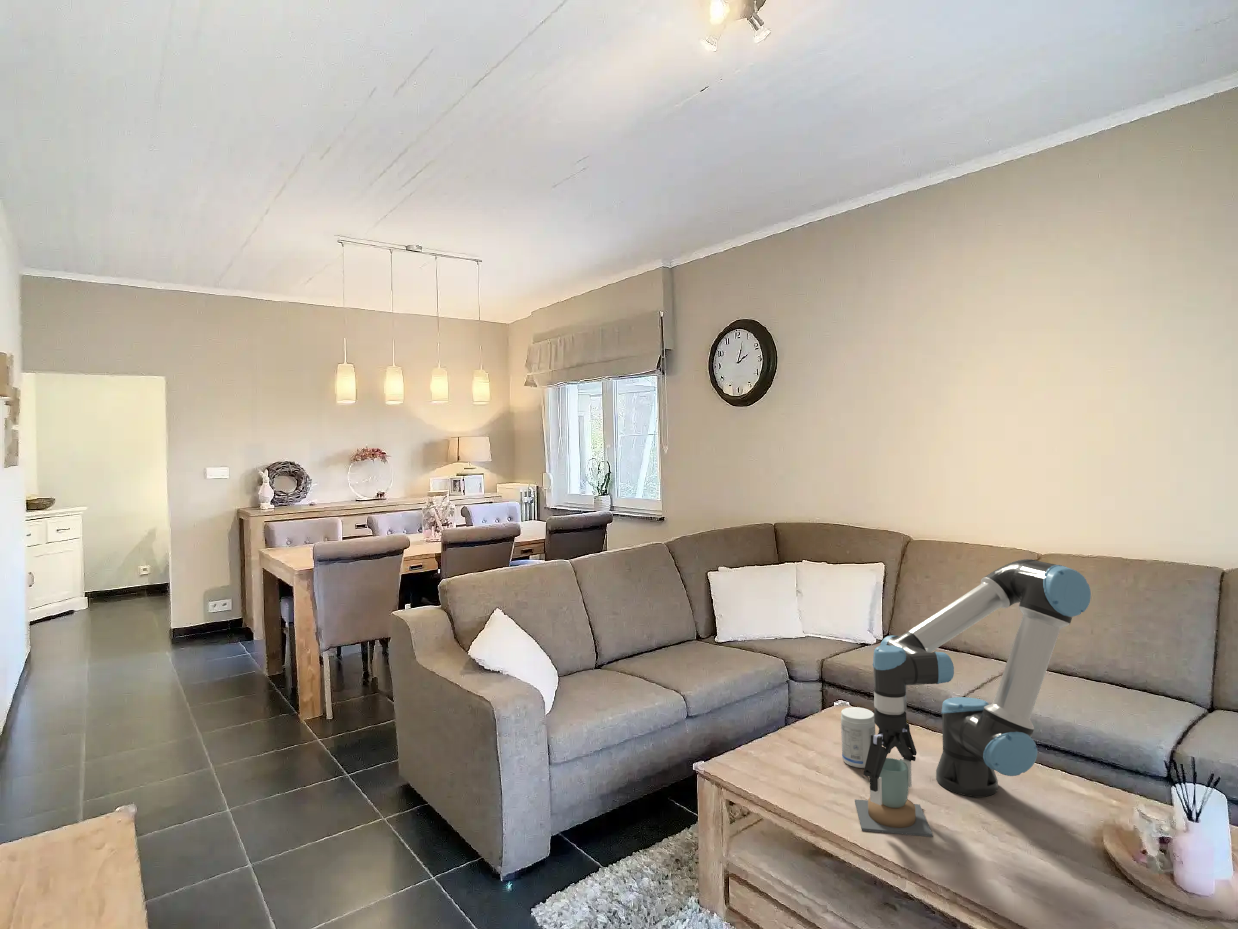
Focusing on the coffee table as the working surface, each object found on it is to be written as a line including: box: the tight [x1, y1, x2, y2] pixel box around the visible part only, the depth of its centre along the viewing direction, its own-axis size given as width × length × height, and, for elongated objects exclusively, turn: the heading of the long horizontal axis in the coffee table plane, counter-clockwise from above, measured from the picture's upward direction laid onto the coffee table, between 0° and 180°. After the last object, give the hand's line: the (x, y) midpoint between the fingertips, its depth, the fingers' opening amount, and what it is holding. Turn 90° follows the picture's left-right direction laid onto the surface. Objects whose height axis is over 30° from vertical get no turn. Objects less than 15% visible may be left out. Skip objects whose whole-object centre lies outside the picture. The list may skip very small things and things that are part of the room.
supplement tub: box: [840, 706, 876, 769], centre depth 204 cm, size 10×10×15 cm
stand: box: [854, 796, 934, 838], centre depth 173 cm, size 16×14×4 cm
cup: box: [879, 757, 910, 808], centre depth 172 cm, size 8×8×10 cm
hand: (891, 794), depth 172 cm, fingers open, 13 cm apart
